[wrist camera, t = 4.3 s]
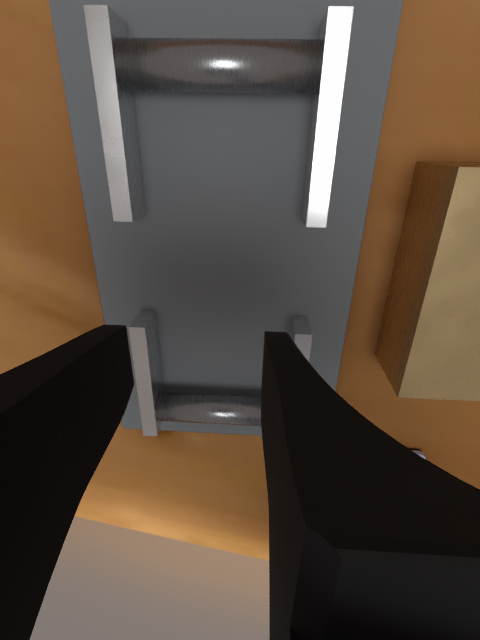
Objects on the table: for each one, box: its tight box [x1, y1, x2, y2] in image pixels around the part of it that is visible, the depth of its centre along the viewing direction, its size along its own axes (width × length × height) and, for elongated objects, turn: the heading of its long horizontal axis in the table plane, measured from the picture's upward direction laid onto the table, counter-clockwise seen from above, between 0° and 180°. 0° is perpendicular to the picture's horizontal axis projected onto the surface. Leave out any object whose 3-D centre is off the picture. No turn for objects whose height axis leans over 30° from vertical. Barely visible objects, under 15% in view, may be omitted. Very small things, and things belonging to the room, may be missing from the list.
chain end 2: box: [128, 310, 312, 436], centre depth 19 cm, size 7×9×2 cm
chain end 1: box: [83, 5, 354, 228], centre depth 14 cm, size 7×9×2 cm
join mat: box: [49, 0, 403, 436], centre depth 18 cm, size 22×13×1 cm, turn 179°
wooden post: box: [375, 161, 480, 401], centre depth 16 cm, size 10×4×4 cm, turn 179°
